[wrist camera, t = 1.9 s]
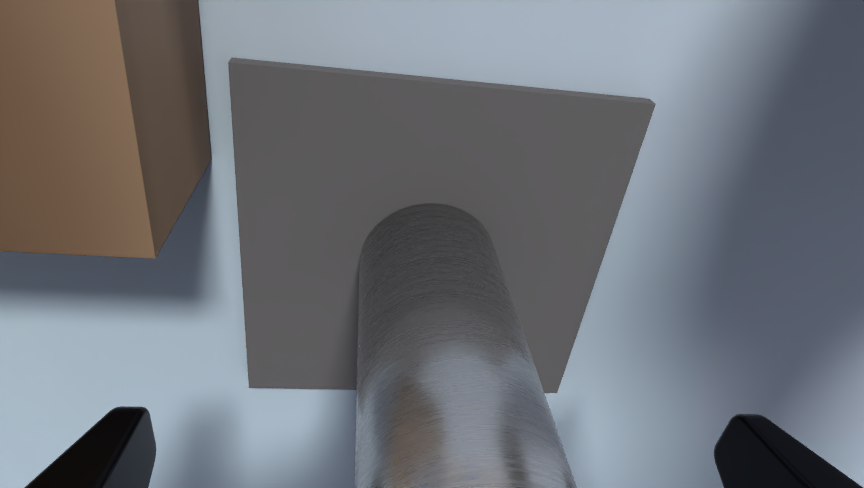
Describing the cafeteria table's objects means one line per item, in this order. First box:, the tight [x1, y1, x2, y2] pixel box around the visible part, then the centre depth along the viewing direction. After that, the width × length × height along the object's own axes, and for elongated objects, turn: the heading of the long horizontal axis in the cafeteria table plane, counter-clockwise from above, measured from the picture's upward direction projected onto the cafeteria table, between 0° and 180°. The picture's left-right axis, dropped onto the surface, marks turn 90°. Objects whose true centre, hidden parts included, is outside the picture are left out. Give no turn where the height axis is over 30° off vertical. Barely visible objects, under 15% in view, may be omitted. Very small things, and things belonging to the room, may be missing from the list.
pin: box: [355, 203, 577, 488], centre depth 8 cm, size 4×4×10 cm
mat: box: [228, 58, 655, 393], centre depth 13 cm, size 8×8×1 cm
